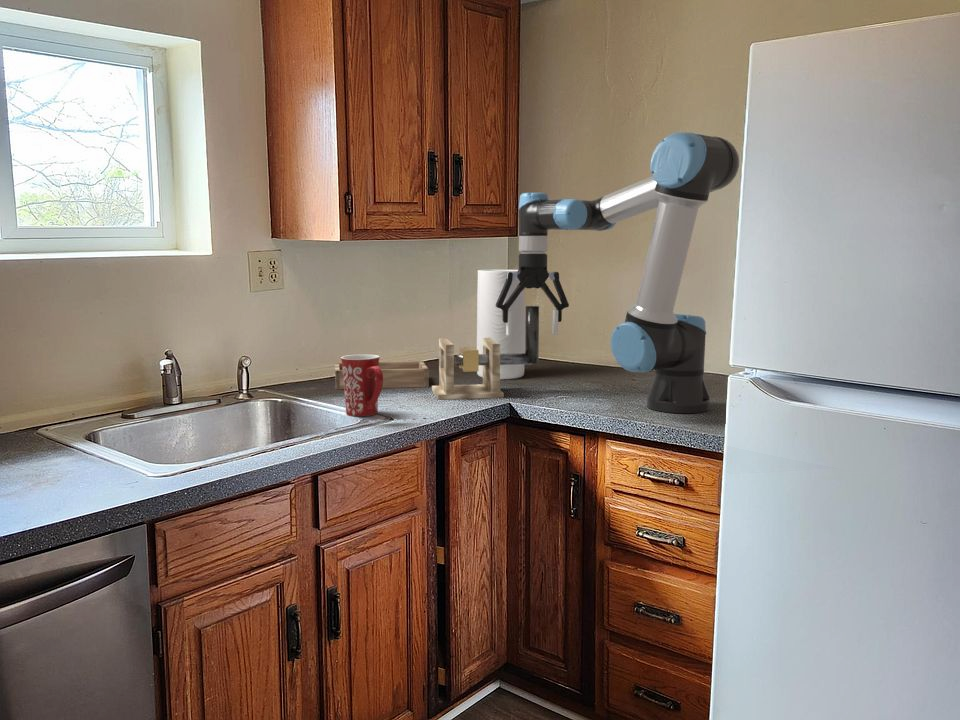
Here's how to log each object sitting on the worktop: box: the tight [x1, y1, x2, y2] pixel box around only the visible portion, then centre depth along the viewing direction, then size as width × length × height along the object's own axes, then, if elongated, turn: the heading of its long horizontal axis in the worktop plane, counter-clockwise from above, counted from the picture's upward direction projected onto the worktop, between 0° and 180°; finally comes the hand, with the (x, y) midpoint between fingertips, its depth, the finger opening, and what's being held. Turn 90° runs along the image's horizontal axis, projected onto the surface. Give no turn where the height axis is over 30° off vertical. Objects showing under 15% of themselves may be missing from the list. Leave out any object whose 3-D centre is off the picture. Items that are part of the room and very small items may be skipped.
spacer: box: [458, 346, 479, 373], centre depth 222 cm, size 7×4×6 cm, turn 10°
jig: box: [431, 338, 505, 400], centre depth 222 cm, size 17×14×14 cm
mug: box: [340, 353, 383, 417], centre depth 195 cm, size 13×9×14 cm
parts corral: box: [334, 360, 430, 390], centre depth 239 cm, size 15×25×5 cm, turn 100°
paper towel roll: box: [476, 269, 526, 381], centre depth 250 cm, size 14×14×32 cm
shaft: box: [442, 305, 540, 367], centre depth 222 cm, size 26×4×16 cm, turn 100°
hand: (531, 334), depth 224 cm, fingers open, 12 cm apart
